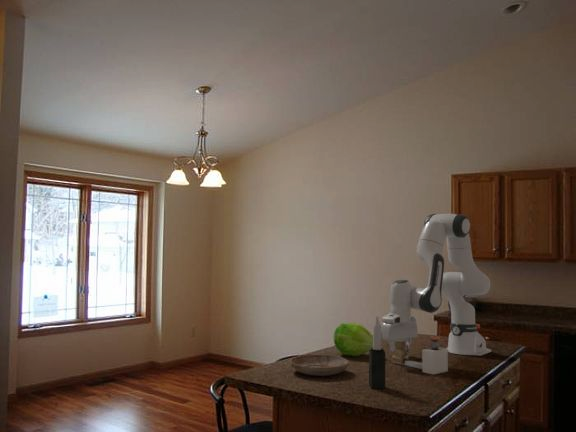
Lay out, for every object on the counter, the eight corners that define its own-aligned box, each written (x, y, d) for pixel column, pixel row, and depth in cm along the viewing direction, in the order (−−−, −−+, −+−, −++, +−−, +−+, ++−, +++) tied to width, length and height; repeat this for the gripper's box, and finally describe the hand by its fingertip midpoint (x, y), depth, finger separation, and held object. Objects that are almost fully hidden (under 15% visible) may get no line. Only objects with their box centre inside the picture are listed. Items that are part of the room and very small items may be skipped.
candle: (368, 385, 186) (368, 315, 188) (382, 385, 187) (382, 315, 189) (371, 389, 181) (372, 317, 183) (386, 389, 182) (386, 317, 184)
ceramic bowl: (280, 368, 212) (280, 356, 212) (331, 364, 221) (331, 352, 221) (304, 382, 190) (304, 368, 191) (359, 377, 200) (359, 363, 200)
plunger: (433, 350, 213) (433, 336, 214) (442, 352, 210) (442, 337, 210) (427, 351, 211) (427, 337, 211) (436, 353, 208) (436, 338, 208)
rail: (396, 362, 227) (396, 357, 227) (431, 370, 212) (431, 365, 212) (393, 362, 226) (393, 358, 226) (428, 370, 211) (428, 365, 211)
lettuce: (367, 365, 229) (369, 332, 228) (326, 356, 239) (327, 324, 238) (379, 355, 244) (381, 323, 243) (340, 346, 254) (342, 316, 252)
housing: (437, 368, 215) (437, 347, 215) (447, 371, 211) (447, 348, 212) (422, 372, 209) (422, 349, 209) (432, 374, 205) (432, 351, 205)
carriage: (399, 361, 227) (399, 340, 228) (408, 363, 223) (408, 341, 224) (392, 362, 224) (392, 341, 225) (401, 364, 220) (401, 342, 221)
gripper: (409, 315, 234) (409, 346, 233) (379, 318, 221) (379, 350, 220) (421, 316, 229) (421, 348, 228) (390, 319, 216) (390, 353, 215)
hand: (400, 349), depth 224 cm, fingers open, 8 cm apart
